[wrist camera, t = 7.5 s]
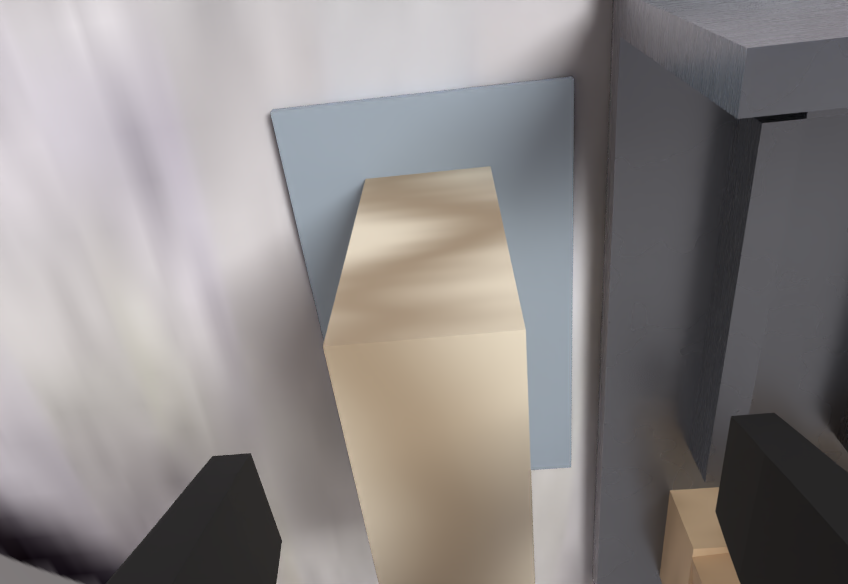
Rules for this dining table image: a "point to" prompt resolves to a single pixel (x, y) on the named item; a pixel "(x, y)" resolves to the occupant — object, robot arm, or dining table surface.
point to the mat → (442, 151)
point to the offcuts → (695, 541)
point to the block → (435, 382)
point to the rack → (717, 251)
